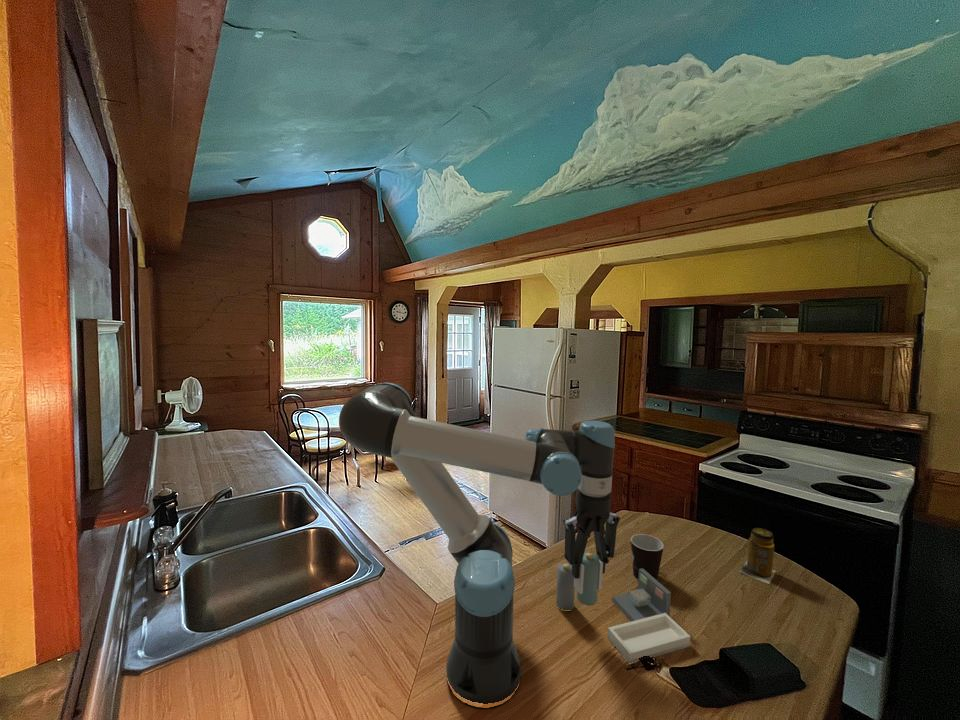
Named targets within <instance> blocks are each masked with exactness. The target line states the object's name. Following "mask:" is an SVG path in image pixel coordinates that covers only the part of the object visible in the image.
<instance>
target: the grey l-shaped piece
mask: <svg viewBox="0 0 960 720" xmlns="http://www.w3.org/2000/svg"><path fill="white" fill-rule="evenodd" d="M637 581H638V582H637V590H638V589H644V590H645V591H646V592H647V593H648V594H649V595H650V596H651V604H649V605H645V606H641V607H638V606H637V605H636V604H635V603H634V602H633V601H632V600H631V599H630V592H626V593H621V594H617V595H613V596H612V598H611V601H612V602H613V604H615V606H616V607H617V606H618V607H617V608H618V609H619V610H620V611H621V612H622V613H623V614H624V615H625V616H626V617H627V619H628V620H630V621H629V622H632V621H636V620H639V619H643V618H647V617H651V616H655V615H659V614H663V613H666V614H667V615H668V616H669V617H670V614H671V602H672V601H671V600H672V592H671V591H670V590H669V589H668V588H666V586H664V585H663V584H662V583H660V582H659V581H658V579H657V580H656V579H655V578H653V577H652V576H651V575H650V574H649V573H648V572H646V571H645V570H644V569H643V568H642V569H639V577H638V579H637ZM670 618H671V617H670Z"/></svg>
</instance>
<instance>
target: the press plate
mask: <svg viewBox="0 0 960 720" xmlns="http://www.w3.org/2000/svg"><path fill="white" fill-rule="evenodd" d="M630 599H631V600H632V601H633V602H634V603H635V604H636V605H637V606H638V607H641V606H645V605H649V604H651V596H650V595H649V594H648V593H647V592H646V591H645V590H644V589H638V588H637V589H634V590H630Z"/></svg>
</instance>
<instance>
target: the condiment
mask: <svg viewBox="0 0 960 720" xmlns="http://www.w3.org/2000/svg"><path fill="white" fill-rule="evenodd" d="M750 532H751V533H750V536H749V538H748V546H747V547H748V549H747V559H746V561H745V562H744V564H743V565H742V567H741V568H740V569H739V570H738V571H739V573H741V574H743V575H745V576H747V577H750V578H752V579H755V580H756V581H760V582H762V583H765V584H768V585H770V584H771V581H772V580H773V578H774V577H775V575H776V573H777V571H776V570H775V569H773V566H774V565H773V564H774V553H775V544H774V534H773V532H771V531H770V530H767V529H766V528H760V527H754V528H752V529H751V531H750ZM775 572H776V573H775ZM774 574H775V575H774Z"/></svg>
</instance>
